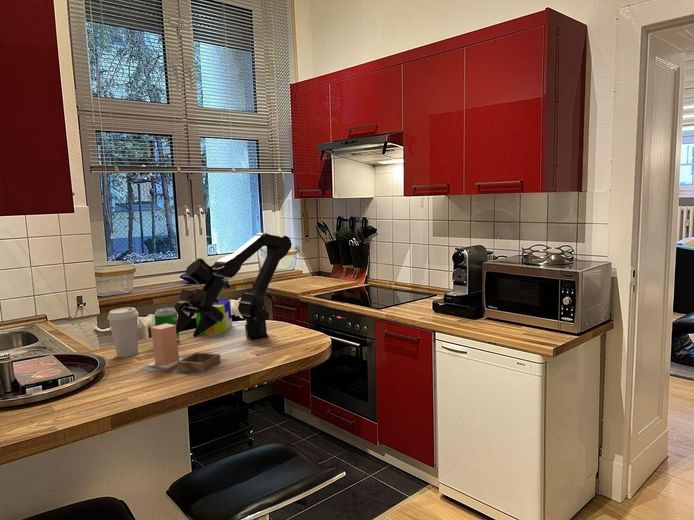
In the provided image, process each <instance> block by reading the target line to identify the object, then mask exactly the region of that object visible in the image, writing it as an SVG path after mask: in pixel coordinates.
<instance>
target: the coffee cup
mask: <svg viewBox="0 0 694 520" xmlns="http://www.w3.org/2000/svg"><path fill="white" fill-rule="evenodd" d="M139 315H140V313H139V312H138V310H137V309H136V308H135V307H120V308H115V309H112V310H110V311H109V312H108V315H107V320H108V321H109V322H108V323H109V326H110V330H111V334H112V338H113V343H114V347H115V348H114V349H115V352H116V357H117V358H121V359H122V358H130V357H134V356H137V355H138V354H139V330H138V329H139V328H138V327H139V326H138V321H139V320H138V319H139V318H138V316H139Z"/></svg>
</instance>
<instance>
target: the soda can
mask: <svg viewBox="0 0 694 520" xmlns="http://www.w3.org/2000/svg"><path fill="white" fill-rule="evenodd" d="M177 319H178V314H177V312H176V311H175V308H174V306H173V307H172V306H171V307H170V306H168V307H167V306H166V307H160V308H157V309H156V311H155V312H154V323H155V324H154V326H158V325H162V324H165V323H167V324H172V325H176V324H177ZM176 335H177V341H179V339H180V332H179V333H178V334H177V333H176Z"/></svg>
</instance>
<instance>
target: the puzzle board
mask: <svg viewBox="0 0 694 520" xmlns="http://www.w3.org/2000/svg"><path fill="white" fill-rule="evenodd" d="M227 360H228V359H227V358H226V359H225V358H221V354H220V353H211V352H210V353H209V352H197V351H196V352H195V353H192V354H190V355H181V354H179V361H177V362H174V363H171V364H168V365H165V366H164V365H161V364H157V363H155V361H153V362H151V363H149V364H147V365H145V366H143V367H141V368H138V369H137V370H138V371H144V372H154V373H163V374H175V375H185V376H194V377H199V376H201V375H202V374H204V373H206V372H208V371H210V370H211V369H214V368H215V367H217V366H218V365H220V364H223V363H224V362H226V361H227Z"/></svg>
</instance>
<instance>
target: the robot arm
mask: <svg viewBox="0 0 694 520" xmlns="http://www.w3.org/2000/svg"><path fill="white" fill-rule="evenodd" d="M292 245H293V243H292V241H291V238H290V237H289V236H287V235H274V234H270V233H269V234H268V233H267V232H257V233H255V235H254V236H253V237H251V238H250V239H249V240H248V241H246V243H244V244H243V245H241V246H240V247H239V248H238V249H237V250H235V251H234V252H233V253H231V254H229V255H225V256H223V257H222V258H220V259H217V260H216V261H215V262H214V263H213V264H211V265H209V264H208V263H207V262H206V261H205V260H204V259H203V258H199V257H197V258H196V260H194V261H192V262H191V264H189V265H188V266H187V268H186V269H185V275H186V276H188V277H189V278H190V279H191V280H193V282H195V283H196V284H198V285H199V286H200V285H201V286H202V285H203V286H202V288H201V289H200V288H195V289H194V290H189V289H181V291H180V294H179V297H178V298H179V300H182V301H177V302H176V303H174V306H173V308H174V309H175V311H176V312H177V324H176V333H177V334H178V333H179V334H180V332H181V331H182V330H183V329H184V328H186V326H187V325H188V324H189V323H190V322H191V321H192V320H193V317H194V316H196V314H200V321H199V323H198V325H197V324H196V327H195V329H194V331H193V334H192V337H194V338H197V337H198V336H200V335H201V333H203V332H204V331H206V330H207V329H208V328H210V327H212V326H213V325H215V324H218V322H222V320H223V318H224V314H223V313H222V312H221V311H220V310H219V309H217V308H216V307H215V306H213V304H214V303H218V301H219V300H218V297H219V296H220V294H221V292H222V291H223V289H227V290H228V289H231V286H230V283H229V280H224V278H231V279H232V278H233V277H235V276H236V275H237V273H239V272H240V270H241V268H242V265H243V264H244V263H245V262H246V261H247V260H249V259H250V258H251V257H252V256H254V255H255V254H257V252H258V251H260V250H261V249H262V248H263V247H266V257H265V260H264V261H263V263H262V264H261V268H260V270H259V273H258V275H257V276H256V279H255V280H254V283H253V285H252V287H251V290H250V291H249V292H243V293H242V295H241V297H240V299H239V301H237V304H238V306H237V309H238V313H239V314H240V315H241V317H242V319H243V321H244V320H245V323H246V324H244V329H245V331H244V332H245V336H246V337H247V338H248V339H249V340H252V341H253V340H257V339H262V338H267V337H269V334H268V333H267V330H268V329H267V321H269V319H270V318H269V317H270V313H269V312H268V311H267V310H266V309H264V307H265V294H266V292H267V289H268V287H269V285H270V283H271V281H272V278H273V276H274V275H275V272H276V269H277V267H278V266H279V263H280V261H281V260H283V258H285V257H286V256H287V254H288V253H289V252H290V250H291V248H292ZM186 301H187V302H186ZM196 310H197V311H196Z"/></svg>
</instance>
